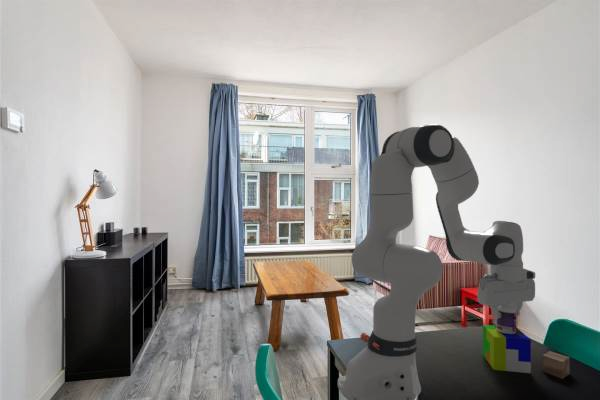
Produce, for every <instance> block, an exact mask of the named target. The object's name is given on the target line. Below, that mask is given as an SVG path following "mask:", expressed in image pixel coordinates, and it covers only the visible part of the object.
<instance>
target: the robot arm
mask: <svg viewBox="0 0 600 400" xmlns="http://www.w3.org/2000/svg"><path fill="white" fill-rule="evenodd" d="M423 167H427V168H429V170H430V172H431V175H432V177H433V180H434V181H435V186H436V188H437V193H436V195H435V201H436V206H437V211H438V215H439V217H440V221H441V225H442V228H443V231H444V232H443V233H444V235H445V242H446V243H445V245H446V249H447V252H448V254H449V256H451V257H452V258H453V259H454V260H456V261H463V262H471V263H472V262H473V263H477V264H483V265H488V266H490V267H489V268H490V269H489V271H490V272H489V274H488V273H487V274H483V275H482V276H481V278H480V280H479V283H478V287H477V298H476V299H477V301H478V303H479V304H480V305H481V306H482V305H483V306H486V307H489V308H490V310H491V312H492V317H493V319H495V320H496V319H500V318H501V313H499V311H498V309H497V308H499V306H500V305H501V304H509V303H511V302H514V306H513V308H515V309H516V311H517V315H516V317H520V311H521V309H522V307H523V303H524V302H532V301H533V300H534V299H535V298H536V282H535V280H534V279H535V278H536V272H535V271H533V270H529V269H526V268H525V267H524V262H523V258H522V257H523V252H524V238H523V237H524V236H523V231H522V230H523V229H522V227H521V225H520V224H519V223H518V222H517V223H516V222H513V221H506V220H495V221H493V222H492V226H491V227H490V228H488V229H486V230H485V231H484V230H483V231H474V230H469V229H467V228H466V227H464V224H463V221H462V217H461V214H460V210H459V205H461V204H463V203H464V202H466V201H467V200H468V199H470V198H471V197H472V196H473V195H474V194H475V193H476V191H477V190H478V187H479V185H480V184H479V183H480V181H479V176H478V173H477V170H476V168H475V166H474V164H473V161H472V159H471V157H470V155H469V154H468V151H467V149H466V148H465V146H464V145H463V144H462V142H461V141H460V140H459V138H458V137H455V136H453V135H452V134H451V132H450V131H449V130H448V128H446V127H445V126H443V125H440V124H434V123H431V124H430V123H429V124H425V125H419V126H410V127H408V128H407V127H406V128H405V129H403V130H400V131H396V132H394V133H391V134H390V135H389V136H388V137H387V138H386V139H385V141H384V143H383V145H382V150H381V153H380V154H379V155H378V156H377V157H375V158H374V160H373V161H372V166H371V171H370V183H369V184H370V191H369V192H370V222H369V227H368V231H367V233H366V235H365V237H364V239H363V240H362V241H361V242H360V243H359V244H357V245H356V246H355V248H354V249H353V251H352V255H351V265H352V268H353V270H354V272H355V273H356V274H358V275H360V276H362V277H364V278H367V279H369V280H372V281H376V282H377V281H378V282H383V283H387V284H390V292H389V294H386V295H384V296H382V297H380V298H378V299H377V300H376V302H374V306H373V307H372V310H373V311H372V312H373V313H372V315H373V316H372V319H373V320H372V323H373V325H372V326H373V327H372V331H371V334H370V335H368V334H367V333H365V332H362V333H361V334H360V340H362V341H363V342H364V343H367V345H366V346H365V347H364V348H363V349H361V351H360V352H358V353H357V354H356V355H355V356H354V357H353V358H351V359H350V360H349V361H348V363H347V366H346V371H345V375H343V376H342V375H341V376H340V377H338V379H337V388H338V390H339V392H340V394H342V396H343V397H344V398H345V399H347V400H419V399H418V398H419V395H420V394H421V392H422V386H421V384H420V379H419V376H418V367H417V361H416V360H417V358H416V351H417V335H416V314H417V308H418V304H419V302H420V300H421V298H422V297H423V295H425V293H427V292H428V291H429V290H431V289H433V288H434V287H435V286H437V284H439V282H440V280H441V278H442V277H443V276H442V275H443V269H444V268H443V267H444V266H443V262H442V260H441V258H440V256H439V255H438V253H437V252H436V251H435V250H431V249H430V248H429V249H428V248H425V247H422V246H419V245H410V244H401V243H397V235H398V233H399V232H401V231H403V230H405V229H407V228H408V227H409V226H410V225H411V224H412V223H413V220H414V202H413V200H414V199H413V185H412V184H413V183H412V175H413V171H414V169H416V168H423Z"/></svg>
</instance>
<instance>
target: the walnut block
mask: <svg viewBox="0 0 600 400" xmlns="http://www.w3.org/2000/svg"><path fill="white" fill-rule="evenodd" d="M570 363H571V362H570V357H569V356H566V355H564V354H560V353H557V352H553V351H551V350H550V351H547V352H546V353H544V354H542V372H543V373H546V374H548V375H550V376H554V377H557V378H559V379H562V380H563V379H564V378H566V377H568V376H569V375H570V371H571V369H570V367H571V366H570Z"/></svg>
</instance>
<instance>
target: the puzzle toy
mask: <svg viewBox="0 0 600 400" xmlns="http://www.w3.org/2000/svg"><path fill="white" fill-rule="evenodd" d="M531 342H532V339H531V338H530V337H528V336H527V335H526V334H525V333H524V332H522V330H520V329H519V328H518V327H517V326H516V333H515V334H506V333H501V332H499V331H497V330H496V325H488V324H487V325H486V324H483V325H482V355H483V357H484V360H486V362H487V363H488V364H489V365H490V367H491V368H492V370H495V371H504V372H513V373H514V372H515V373H525V374H531V373H532V371H531V369H532V367H531V363H532V355H531V354H532V353H531V352H532V343H531Z"/></svg>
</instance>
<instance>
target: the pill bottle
mask: <svg viewBox="0 0 600 400" xmlns="http://www.w3.org/2000/svg"><path fill="white" fill-rule="evenodd" d="M513 307H514V302H511V303H509V304H501V305H499V308H497V309H498V311H499V313H501V318H500V319H495V321H496V323H495V326H496V330H497V331H499V332H501V333H506V334H515V333H516V327H517V316H516V315H517V311H516V309H515V308H513Z"/></svg>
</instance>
